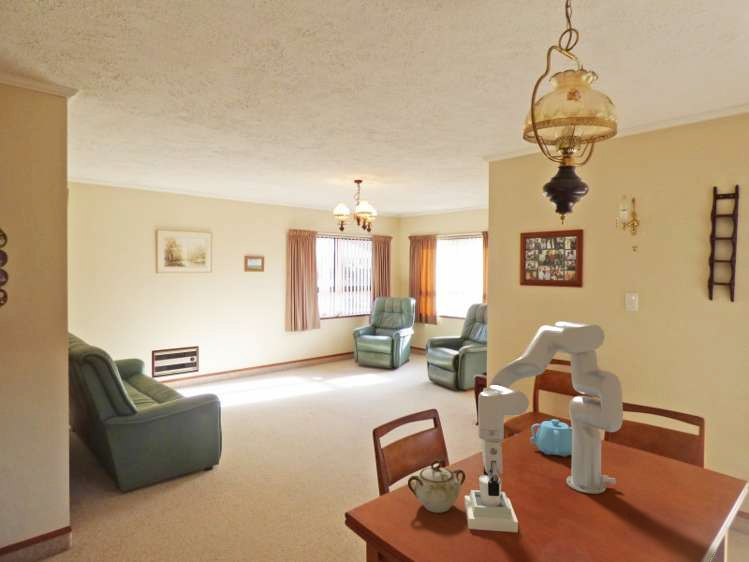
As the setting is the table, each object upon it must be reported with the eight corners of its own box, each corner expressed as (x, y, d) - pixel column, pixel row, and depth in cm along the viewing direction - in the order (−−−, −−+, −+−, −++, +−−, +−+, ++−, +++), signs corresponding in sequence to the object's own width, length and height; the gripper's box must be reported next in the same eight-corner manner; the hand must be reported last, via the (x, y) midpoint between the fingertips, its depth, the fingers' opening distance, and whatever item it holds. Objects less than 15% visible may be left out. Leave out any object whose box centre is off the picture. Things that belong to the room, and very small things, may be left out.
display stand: (508, 507, 144) (509, 489, 144) (517, 532, 130) (518, 512, 130) (464, 504, 145) (464, 487, 145) (468, 528, 131) (468, 509, 131)
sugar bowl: (415, 522, 135) (415, 472, 135) (400, 498, 149) (401, 453, 149) (475, 514, 139) (475, 466, 139) (455, 491, 154) (455, 448, 154)
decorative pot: (556, 443, 201) (556, 412, 201) (584, 456, 186) (585, 423, 185) (526, 447, 195) (526, 416, 195) (553, 461, 180) (553, 428, 180)
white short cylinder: (499, 497, 141) (499, 475, 141) (503, 508, 134) (503, 485, 134) (477, 496, 141) (477, 474, 141) (480, 507, 135) (480, 484, 135)
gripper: (508, 443, 128) (509, 502, 129) (498, 423, 145) (499, 475, 146) (482, 442, 129) (482, 501, 130) (475, 422, 146) (475, 474, 147)
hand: (491, 487), depth 138 cm, fingers open, 9 cm apart
